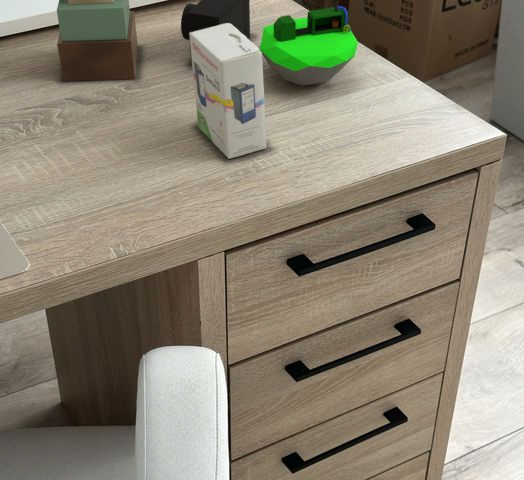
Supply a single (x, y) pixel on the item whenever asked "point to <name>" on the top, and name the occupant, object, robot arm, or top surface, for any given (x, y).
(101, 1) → the toy block
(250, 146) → the ink box
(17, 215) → the top surface
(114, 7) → the top block
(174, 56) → the top surface
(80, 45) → the bottom block
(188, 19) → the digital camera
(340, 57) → the toy floating island
